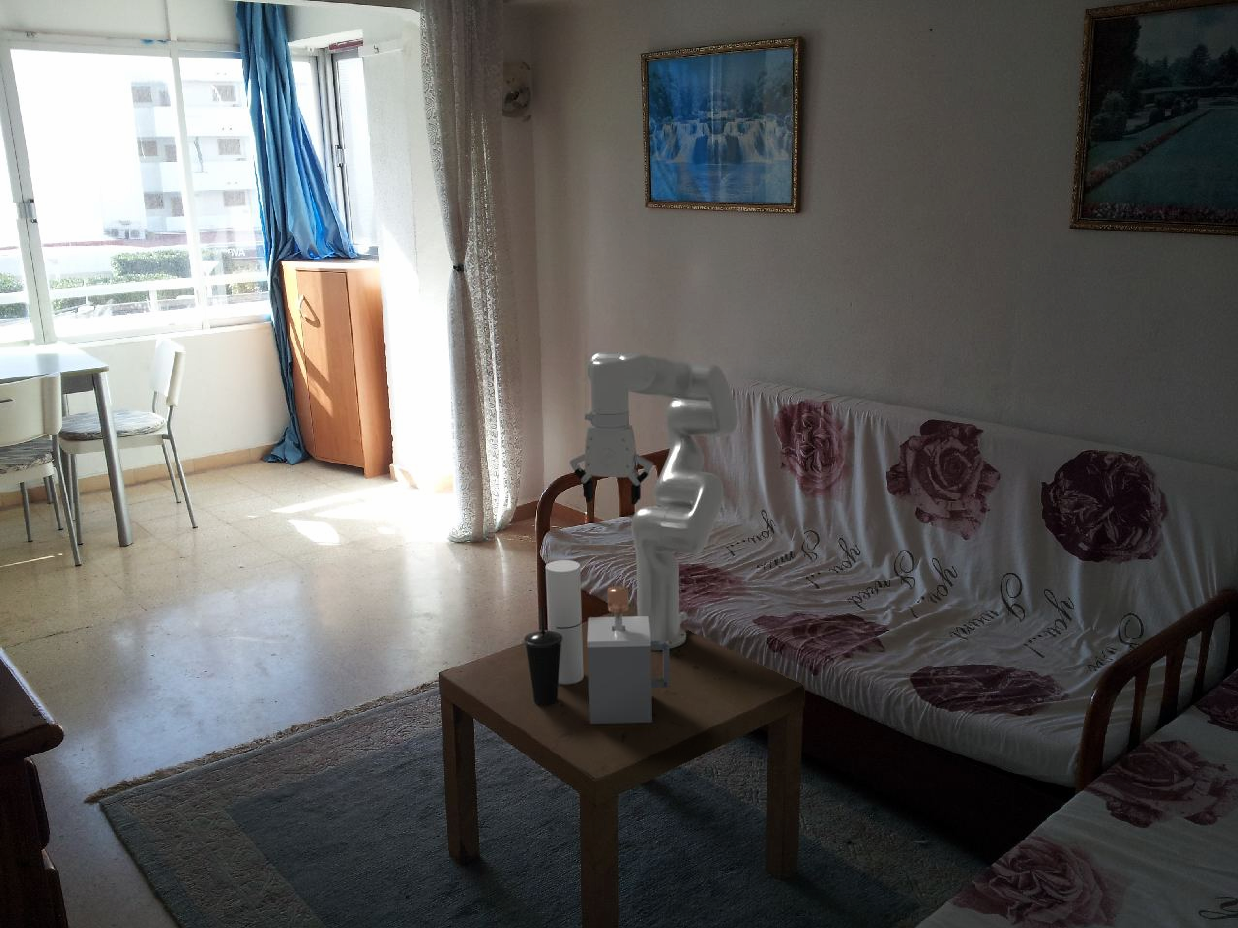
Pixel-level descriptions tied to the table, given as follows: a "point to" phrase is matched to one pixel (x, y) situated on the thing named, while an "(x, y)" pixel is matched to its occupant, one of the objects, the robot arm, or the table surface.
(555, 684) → the drinking cup
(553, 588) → the cylindrical container
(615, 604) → the copper piston
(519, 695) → the table surface
